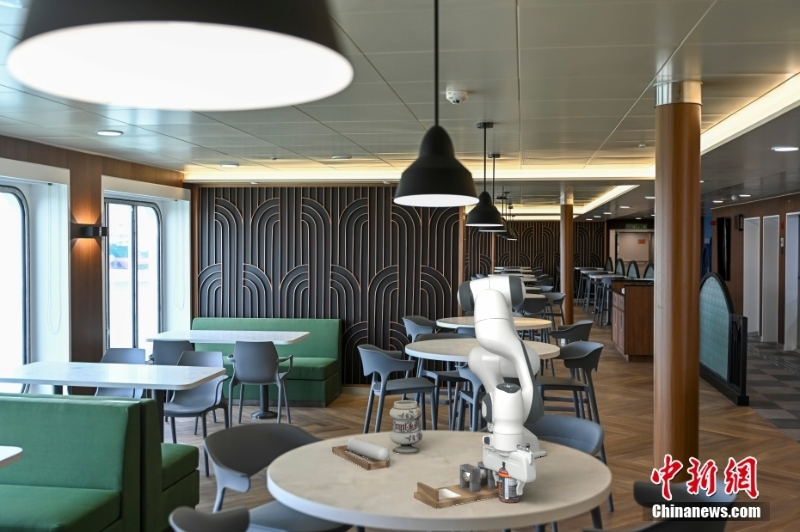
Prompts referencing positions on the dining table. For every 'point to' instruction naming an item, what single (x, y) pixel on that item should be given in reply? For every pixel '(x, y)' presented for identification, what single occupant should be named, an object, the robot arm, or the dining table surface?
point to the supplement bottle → (507, 486)
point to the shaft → (482, 474)
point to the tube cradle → (368, 466)
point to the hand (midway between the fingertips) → (508, 490)
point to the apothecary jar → (406, 426)
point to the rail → (460, 489)
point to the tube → (368, 449)
